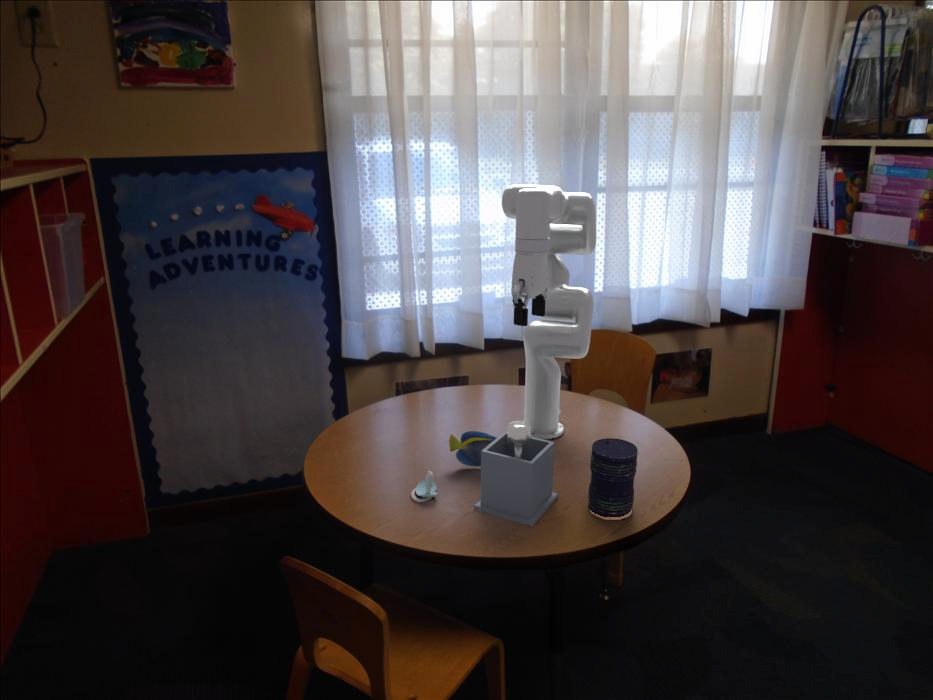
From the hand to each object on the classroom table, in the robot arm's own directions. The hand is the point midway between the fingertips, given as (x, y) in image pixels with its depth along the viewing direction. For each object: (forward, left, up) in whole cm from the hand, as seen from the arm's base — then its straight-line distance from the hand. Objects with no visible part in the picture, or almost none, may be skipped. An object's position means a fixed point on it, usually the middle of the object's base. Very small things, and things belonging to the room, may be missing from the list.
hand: (529, 320), depth 157 cm
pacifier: (+23, -15, -39) cm, 47 cm away
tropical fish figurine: (+4, -10, -39) cm, 40 cm away
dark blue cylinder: (+7, +24, -38) cm, 46 cm away
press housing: (+15, +5, -38) cm, 41 cm away
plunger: (+15, +5, -35) cm, 39 cm away
